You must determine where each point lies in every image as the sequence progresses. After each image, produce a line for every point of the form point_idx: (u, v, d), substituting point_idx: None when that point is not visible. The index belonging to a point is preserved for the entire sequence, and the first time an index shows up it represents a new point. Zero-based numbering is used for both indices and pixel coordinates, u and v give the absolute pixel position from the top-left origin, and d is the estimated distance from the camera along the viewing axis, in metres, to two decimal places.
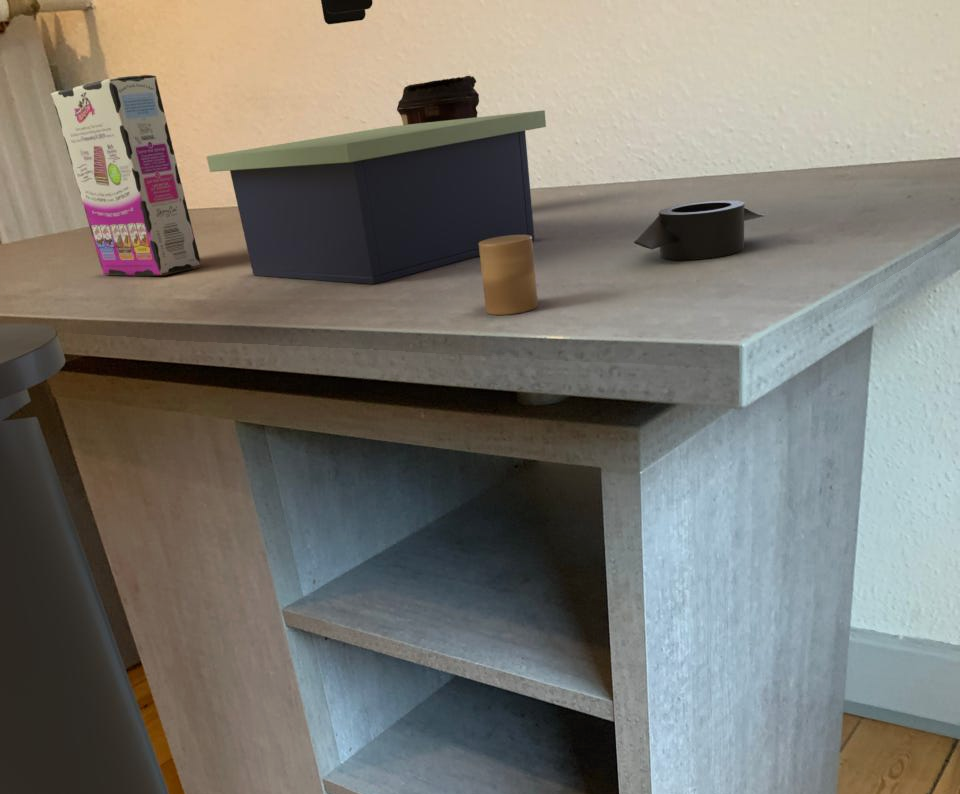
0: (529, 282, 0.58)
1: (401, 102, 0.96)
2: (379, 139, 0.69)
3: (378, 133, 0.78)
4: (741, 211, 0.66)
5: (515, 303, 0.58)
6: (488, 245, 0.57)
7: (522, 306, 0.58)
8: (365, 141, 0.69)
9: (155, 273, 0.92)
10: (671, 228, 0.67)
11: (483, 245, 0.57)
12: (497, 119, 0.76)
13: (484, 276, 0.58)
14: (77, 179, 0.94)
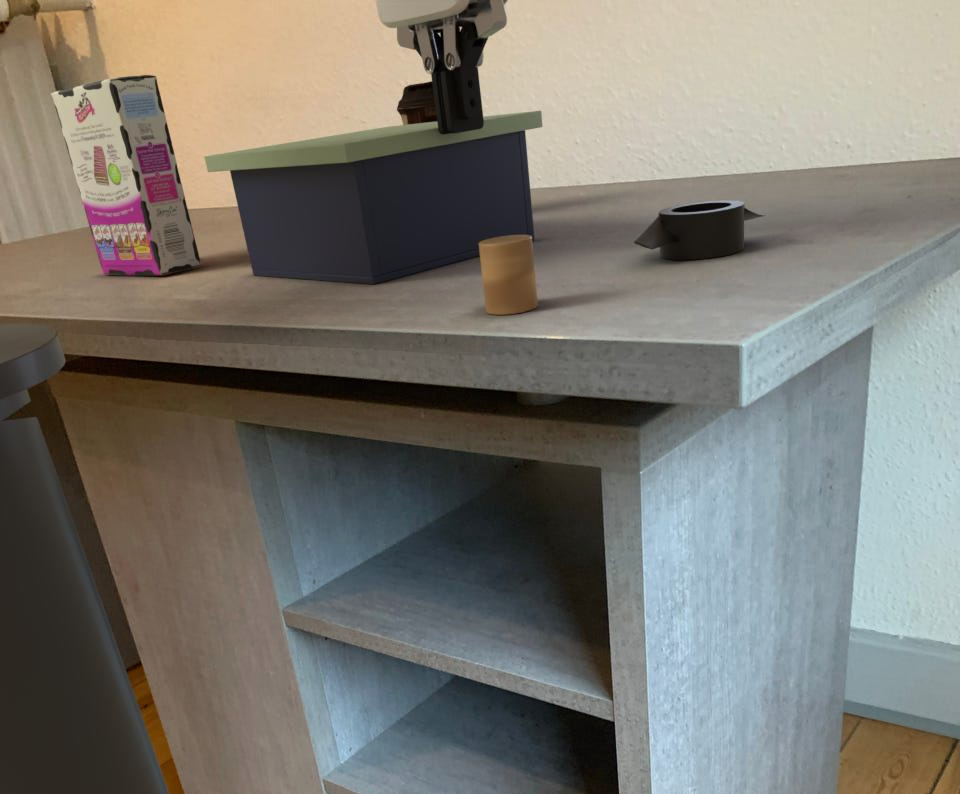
0: (529, 282, 0.58)
1: (401, 102, 0.96)
2: (377, 139, 0.70)
3: (375, 133, 0.79)
4: (741, 211, 0.66)
5: (515, 303, 0.58)
6: (488, 245, 0.57)
7: (522, 306, 0.58)
8: (363, 141, 0.69)
9: (155, 273, 0.92)
10: (671, 228, 0.67)
11: (483, 245, 0.57)
12: (494, 119, 0.76)
13: (484, 276, 0.58)
14: (77, 179, 0.94)
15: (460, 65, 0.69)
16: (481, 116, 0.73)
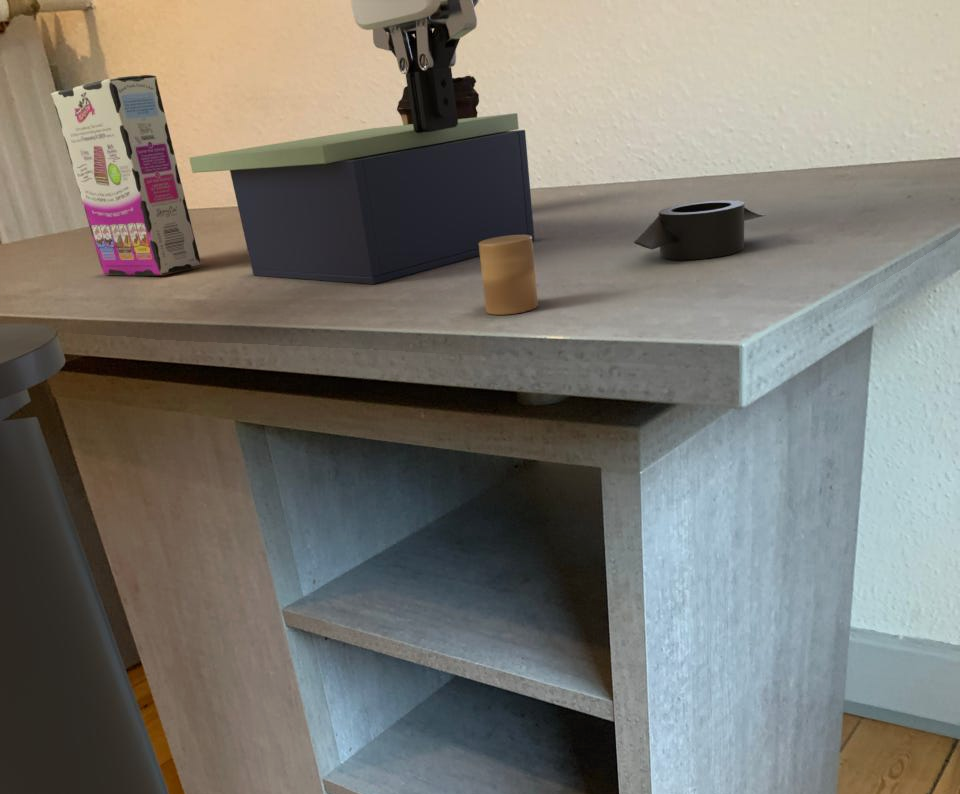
0: (529, 282, 0.58)
1: (401, 102, 0.96)
2: (354, 141, 0.72)
3: (355, 135, 0.81)
4: (741, 211, 0.66)
5: (515, 303, 0.58)
6: (488, 245, 0.57)
7: (522, 306, 0.58)
8: (340, 143, 0.71)
9: (155, 273, 0.92)
10: (671, 228, 0.67)
11: (483, 245, 0.57)
12: (470, 122, 0.78)
13: (484, 276, 0.58)
14: (77, 179, 0.94)
15: (433, 65, 0.72)
16: (455, 114, 0.75)
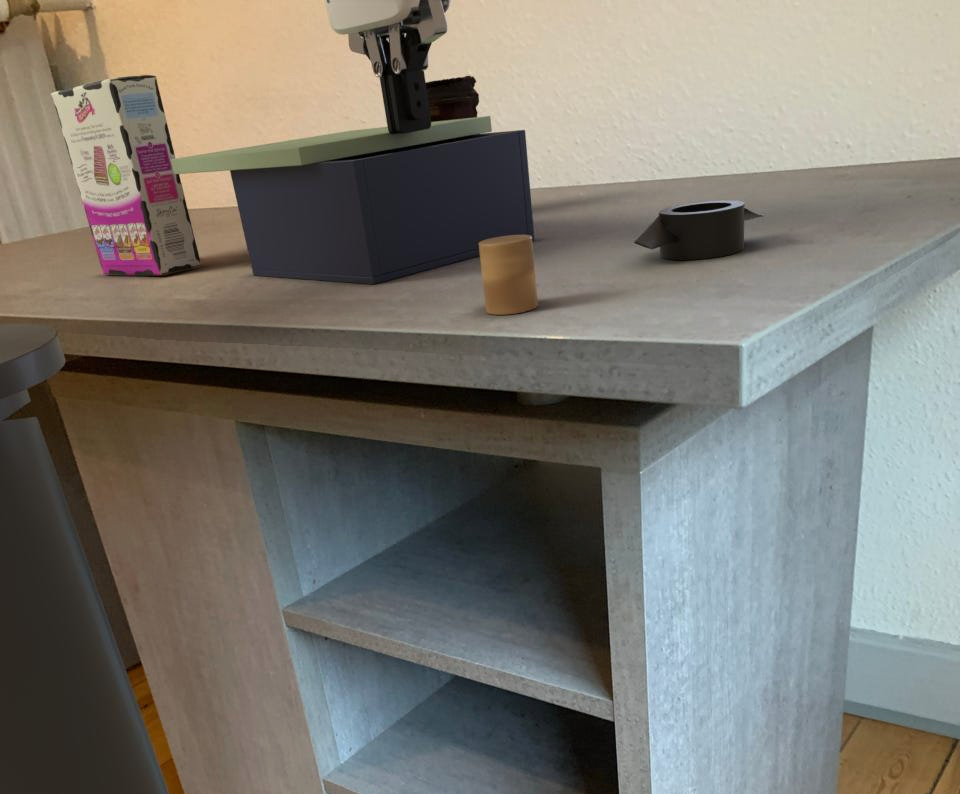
0: (529, 282, 0.58)
1: None
2: (330, 143, 0.74)
3: None
4: (741, 211, 0.66)
5: (515, 303, 0.58)
6: (488, 245, 0.57)
7: (522, 306, 0.58)
8: (316, 145, 0.73)
9: (155, 273, 0.92)
10: (671, 228, 0.67)
11: (483, 245, 0.57)
12: (444, 124, 0.80)
13: (484, 276, 0.58)
14: (77, 179, 0.94)
15: (406, 69, 0.74)
16: (428, 117, 0.77)
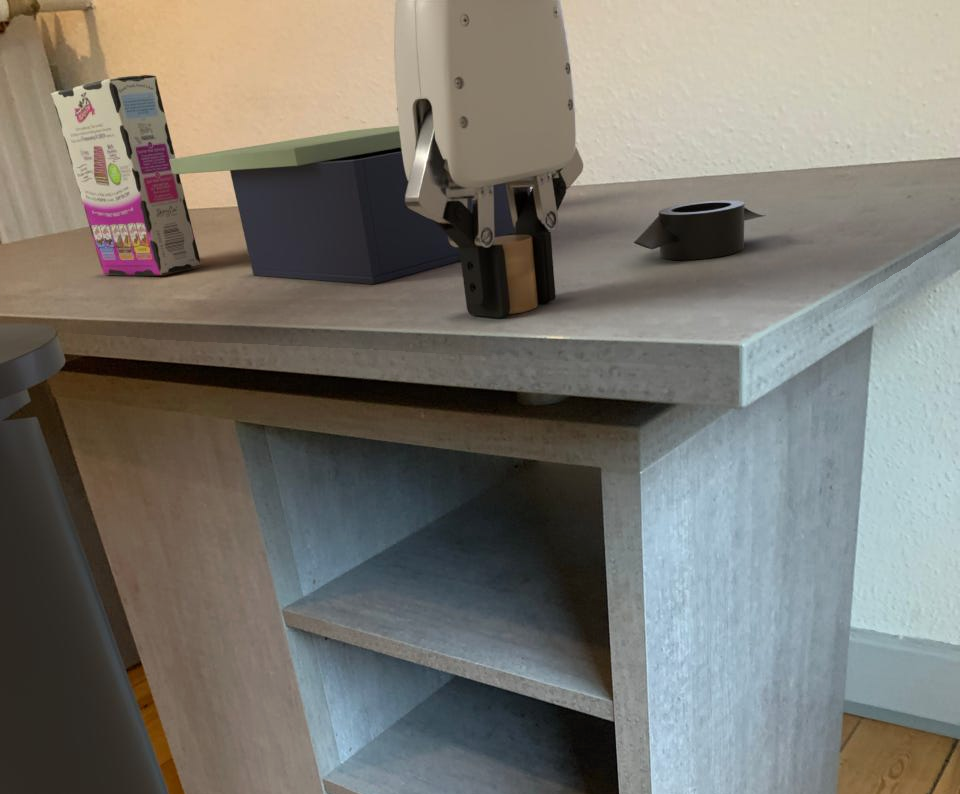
0: (529, 283, 0.58)
1: None
2: (326, 144, 0.74)
3: (330, 138, 0.83)
4: (741, 211, 0.66)
5: (515, 303, 0.58)
6: None
7: (522, 306, 0.58)
8: (312, 146, 0.73)
9: (155, 273, 0.92)
10: (671, 228, 0.67)
11: None
12: None
13: None
14: (77, 179, 0.94)
15: (456, 244, 0.57)
16: (500, 304, 0.57)
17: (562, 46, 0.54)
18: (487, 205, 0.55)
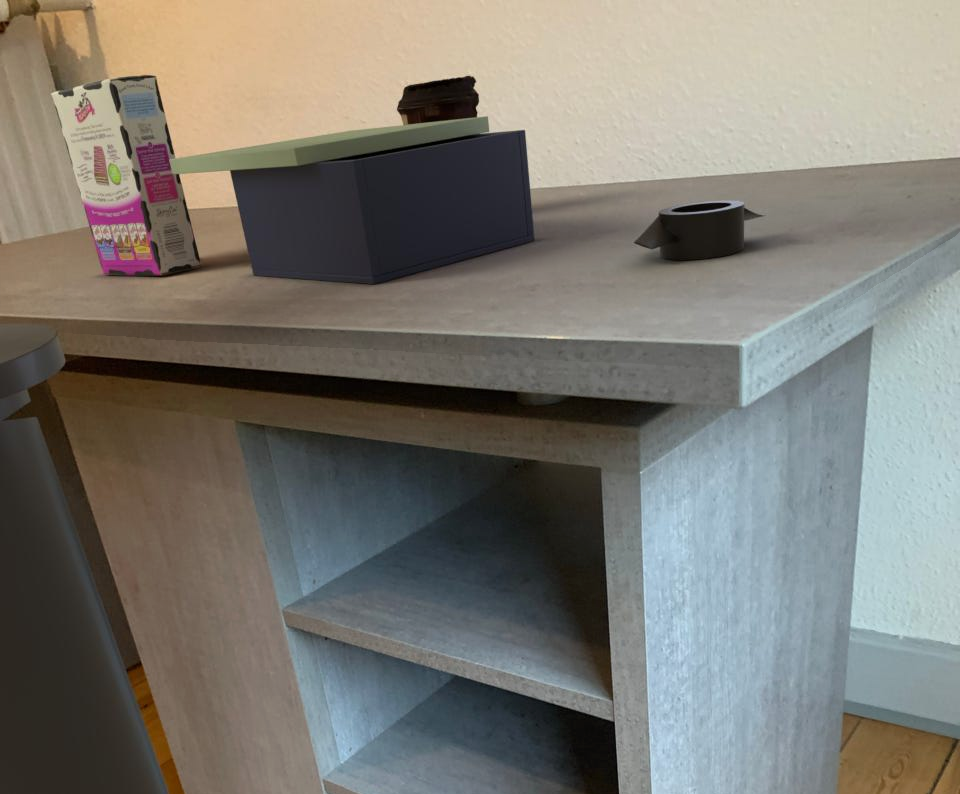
0: None
1: (401, 102, 0.96)
2: (326, 144, 0.74)
3: (330, 138, 0.83)
4: (741, 211, 0.66)
5: None
6: None
7: None
8: (312, 146, 0.73)
9: (155, 273, 0.92)
10: (671, 228, 0.67)
11: None
12: (441, 125, 0.80)
13: None
14: (77, 179, 0.94)
15: None
16: None
17: None
18: None
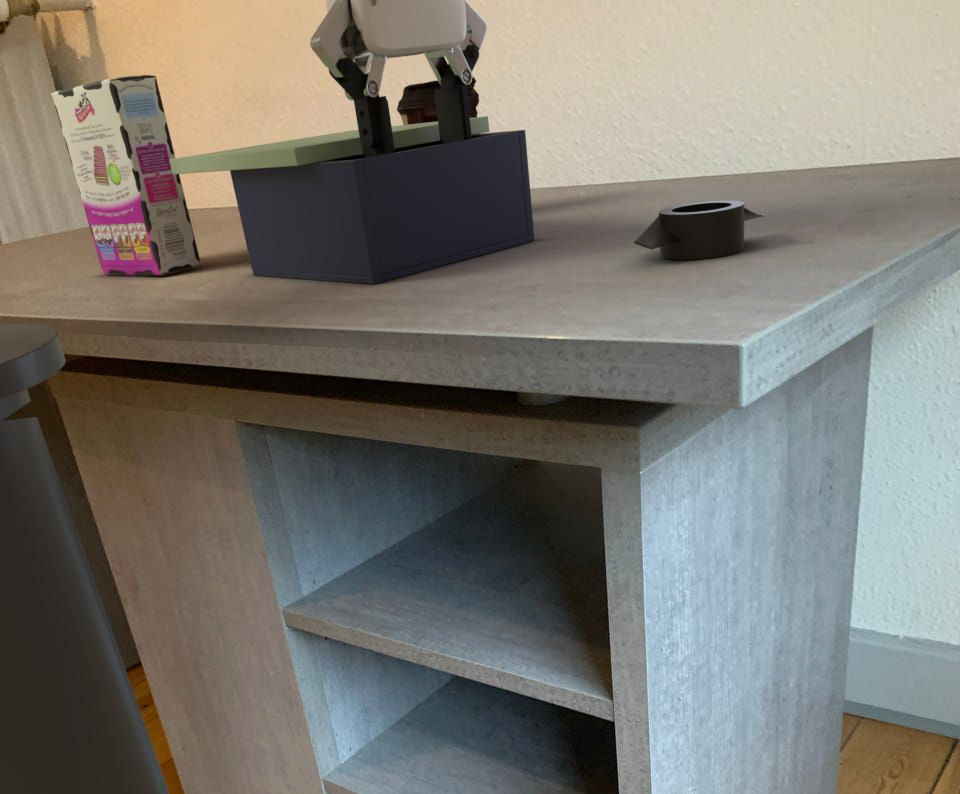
0: None
1: (401, 102, 0.96)
2: (326, 144, 0.74)
3: (330, 138, 0.83)
4: (741, 211, 0.66)
5: None
6: None
7: None
8: (312, 146, 0.73)
9: (155, 273, 0.92)
10: (671, 228, 0.67)
11: None
12: None
13: None
14: (77, 179, 0.94)
15: (351, 97, 0.73)
16: (386, 145, 0.73)
17: None
18: (379, 65, 0.71)
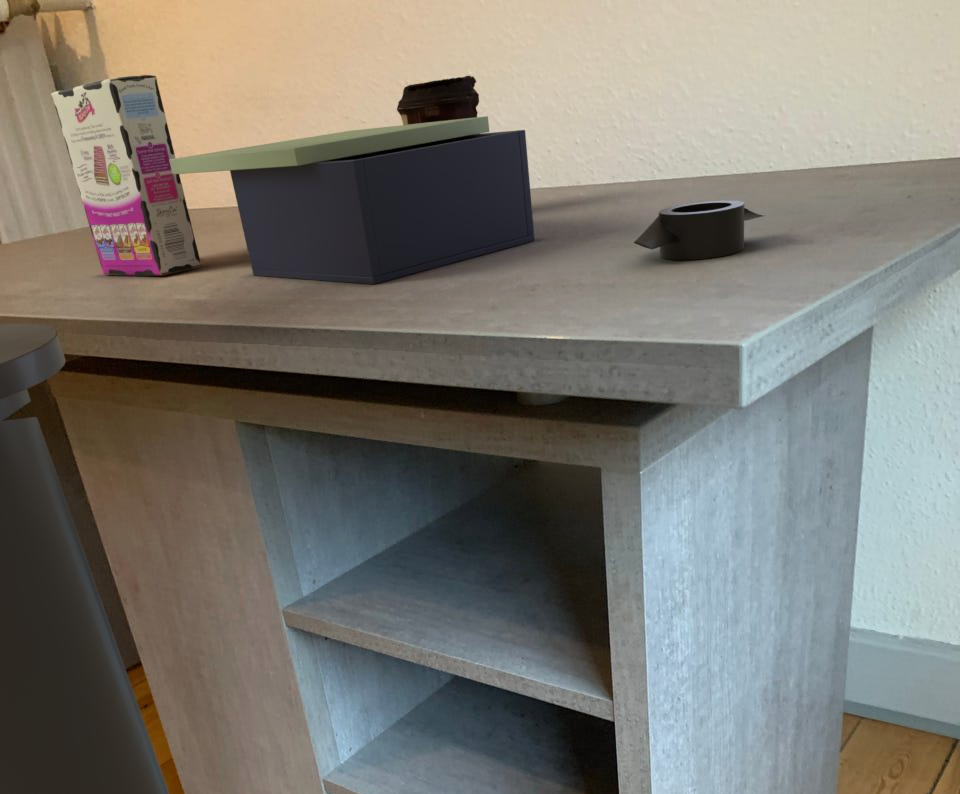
0: None
1: (401, 102, 0.96)
2: (326, 144, 0.74)
3: (330, 138, 0.83)
4: (741, 211, 0.66)
5: None
6: None
7: None
8: (312, 146, 0.73)
9: (155, 273, 0.92)
10: (671, 228, 0.67)
11: None
12: (441, 125, 0.80)
13: None
14: (77, 179, 0.94)
15: None
16: None
17: None
18: None
